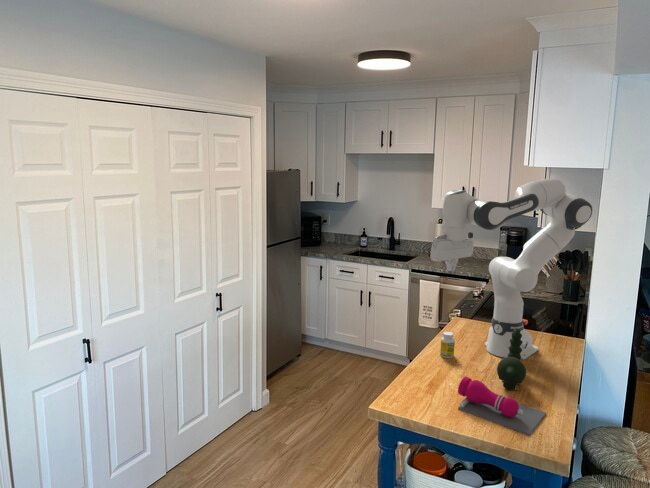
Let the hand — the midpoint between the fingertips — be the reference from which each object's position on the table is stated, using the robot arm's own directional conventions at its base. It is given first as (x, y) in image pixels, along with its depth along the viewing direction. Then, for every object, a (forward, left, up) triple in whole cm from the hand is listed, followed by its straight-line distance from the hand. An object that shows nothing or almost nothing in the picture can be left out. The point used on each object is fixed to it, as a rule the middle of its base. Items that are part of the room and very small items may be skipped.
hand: (450, 270), depth 180 cm
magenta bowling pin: (+18, +23, -32) cm, 43 cm away
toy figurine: (-8, +24, -37) cm, 45 cm away
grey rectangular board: (+13, +35, -37) cm, 53 cm away
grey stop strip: (+16, +25, -37) cm, 47 cm away
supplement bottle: (-6, -4, -37) cm, 38 cm away
